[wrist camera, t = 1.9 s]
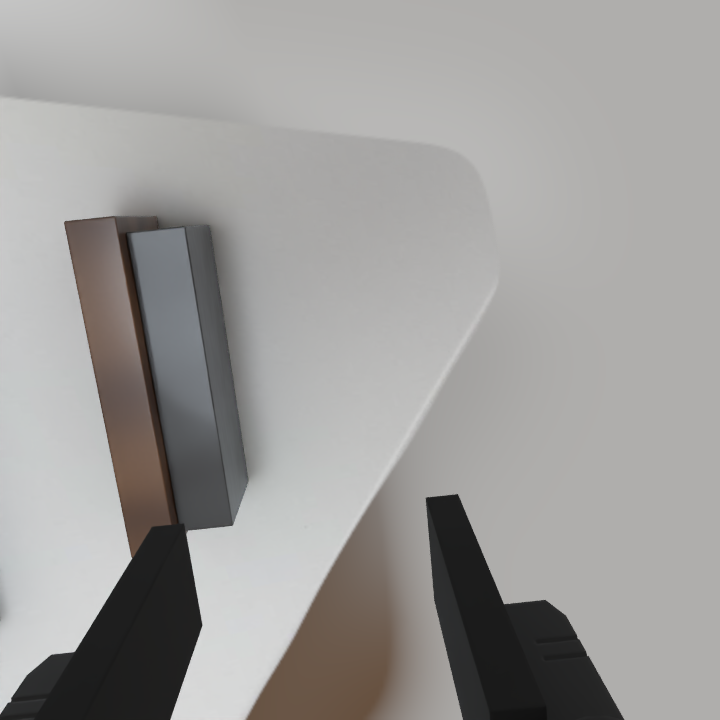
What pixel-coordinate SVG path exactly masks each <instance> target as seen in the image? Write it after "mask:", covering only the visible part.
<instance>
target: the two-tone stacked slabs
mask: <svg viewBox="0 0 720 720" xmlns="http://www.w3.org/2000/svg"><path fill="white" fill-rule="evenodd" d="M64 224H65V229H66V234H67V239H68V244H69V249H70V254H71V259H72V264H73V269H74V274H75V279H76V284H77V289H78V294H79V299H80V304H81V309H82V314H83V319H84V323H85V328H86V333H87V338H88V343H89V348H90V353H91V358H92V363H93V368H94V373H95V378H96V383H97V388H98V393H99V398H100V403H101V408H102V413H103V418H104V423H105V428H106V433H107V438H108V443H109V448H110V452H111V457H112V462H113V467H114V472H115V477H116V482H117V487H118V492H119V497H120V502H121V507H122V512H123V517H124V522H125V527H126V532H127V537H128V542H129V547H130V552H131V557H132V558H133V557H134V555H135V553H136V552H137V550H138V549H139V547H140V545H141V544H142V542H143V540H144V539H145V537H146V536H147V534H148V532H149V531H150V529H151V527H154V526H163V525H173V524H182V523H184V525H185V531H186V534H187V532H188V530H197V529H206V528H216V527H225V526H232V525H233V523H234V521H235V518H236V515H237V512H238V509H239V507H240V504H241V501H242V498H243V495H244V492H245V490H246V487H247V484H248V476H247V469H246V463H245V456H244V449H243V443H242V436H241V430H240V423H239V416H238V410H237V403H236V396H235V390H234V383H233V377H232V370H231V363H230V357H229V350H228V344H227V337H226V330H225V324H224V317H223V310H222V304H221V297H220V291H219V284H218V277H217V271H216V264H215V258H214V251H213V244H212V238H211V231H210V226H209V225H197V226H182V227H173V228H163V229H159V228H158V223H157V217H156V216H111V217H101V218H91V219H82V220H72V221H65V222H64Z"/></svg>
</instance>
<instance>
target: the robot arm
mask: <svg viewBox="0 0 720 720" xmlns="http://www.w3.org/2000/svg"><path fill="white" fill-rule="evenodd" d="M426 506H427V518H428V529H429V541H430V554H431V564H432V577H433V589H434V601H435V604H436V609H437V613H438V617H439V621H440V625H441V630H442V634H443V638H444V642H445V646H446V651H447V655H448V659H449V663H450V667H451V671H452V675H453V680H454V684H455V688H456V692H457V696H458V700H459V705H460V709H461V713H462V717H463V720H624V718H623V717H622V715H621V713H620V711H619V709H618V708H617V706H616V704H615V703H614V701H613V699H612V697H611V695H610V693H609V692H608V690H607V688H606V686H605V685H604V683H603V681H602V679H601V677H600V676H599V674H598V672H597V671H596V668H595V667H594V665H593V663H592V661H591V660H590V658H589V656H587V654H586V651H585V649H584V647H583V645H582V644H581V642H580V640H579V639H578V638H577V635H576V633H575V631H574V630H573V628H572V626H571V624H570V622H569V620H568V619H567V617H566V615H564V614H563V613H562V612H560V611H559V610H558V609H556V608H555V607H554V606H553V605H551V604H550V603H549V602H547V601H546V600H541V601H532V602H522V603H513V604H503V601H502V599H501V596H500V594H499V591H498V589H497V587H496V584H495V582H494V579H493V577H492V575H491V573H490V570H489V568H488V565H487V563H486V560H485V558H484V556H483V553H482V551H481V548H480V546H479V544H478V541H477V539H476V536H475V534H474V532H473V529H472V527H471V524H470V522H469V520H468V518H467V515H466V512H465V510H464V508H463V505H462V503H461V500H460V498H459V496H458V494H456V495H447V496H437V497H428V498H426ZM201 628H202V621H201V615H200V609H199V604H198V598H197V593H196V587H195V581H194V576H193V570H192V565H191V559H190V553H189V548H188V542H187V537H186V531H185V525H184V523H182V524H173V525H163V526H154V527H151V529H150V531H149V532H148V534H147V536H146V537H145V539H144V540H143V542H142V544H141V545H140V547H139V549H138V550H137V552H136V553H135V555H134V557H133V558H132V560H131V562H130V563H129V565H128V567H127V568H126V570H125V571H124V573H123V575H122V576H121V578H120V580H119V581H118V583H117V584H116V586H115V588H114V589H113V591H112V593H111V594H110V596H109V598H108V599H107V601H106V602H105V604H104V606H103V607H102V609H101V611H100V612H99V614H98V615H97V617H96V619H95V620H94V622H93V624H92V625H91V627H90V629H89V630H88V632H87V633H86V635H85V637H84V638H83V640H82V642H81V643H80V645H79V646H78V648H77V650H76V651H75V652H72V653H63V654H54V655H50V656H49V657H48V658H47V659H46V660H45V661H43V662H42V663H41V664H40V665H39V666H38V667H36V668H35V669H34V670H33V671H32V672H30V673H29V674H28V675H27V676H26V678H25V679H24V681H23V682H22V683H21V685H20V686H19V688H18V689H17V691H16V692H15V694H14V695H13V697H12V698H11V699H12V700H11V702H10V703H8V704H7V705H6V707H5V708H4V710H3V711H2V713H1V714H0V720H170V719H171V716H172V713H173V710H174V707H175V704H176V701H177V698H178V695H179V692H180V689H181V686H182V683H183V681H184V678H185V675H186V672H187V669H188V666H189V663H190V660H191V657H192V654H193V651H194V648H195V645H196V642H197V640H198V637H199V634H200V631H201Z"/></svg>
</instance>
